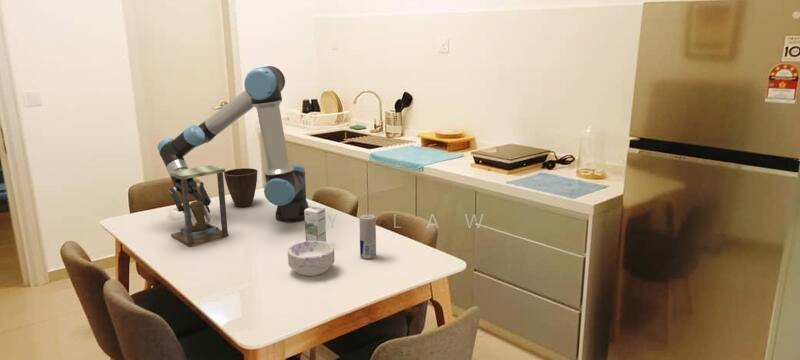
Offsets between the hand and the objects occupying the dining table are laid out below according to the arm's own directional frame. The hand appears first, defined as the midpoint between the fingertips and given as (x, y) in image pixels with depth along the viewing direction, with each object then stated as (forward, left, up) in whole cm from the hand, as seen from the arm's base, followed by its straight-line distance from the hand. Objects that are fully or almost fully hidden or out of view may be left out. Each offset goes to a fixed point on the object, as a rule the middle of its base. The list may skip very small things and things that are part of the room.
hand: (202, 222), depth 211 cm
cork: (+3, -3, -4) cm, 5 cm away
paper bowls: (-47, +30, -7) cm, 56 cm away
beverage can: (-65, +18, -7) cm, 67 cm away
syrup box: (-45, +7, -7) cm, 46 cm away
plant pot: (-3, -46, -7) cm, 46 cm away
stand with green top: (+2, -3, -7) cm, 8 cm away
